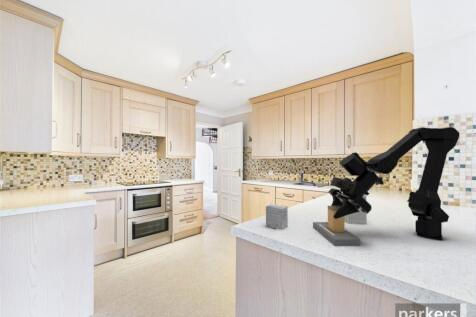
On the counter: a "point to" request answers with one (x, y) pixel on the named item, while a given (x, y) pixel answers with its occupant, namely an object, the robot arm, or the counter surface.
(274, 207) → the medicine box
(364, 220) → the supplement box
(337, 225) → the plug
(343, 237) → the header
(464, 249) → the counter surface
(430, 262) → the counter surface
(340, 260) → the counter surface
